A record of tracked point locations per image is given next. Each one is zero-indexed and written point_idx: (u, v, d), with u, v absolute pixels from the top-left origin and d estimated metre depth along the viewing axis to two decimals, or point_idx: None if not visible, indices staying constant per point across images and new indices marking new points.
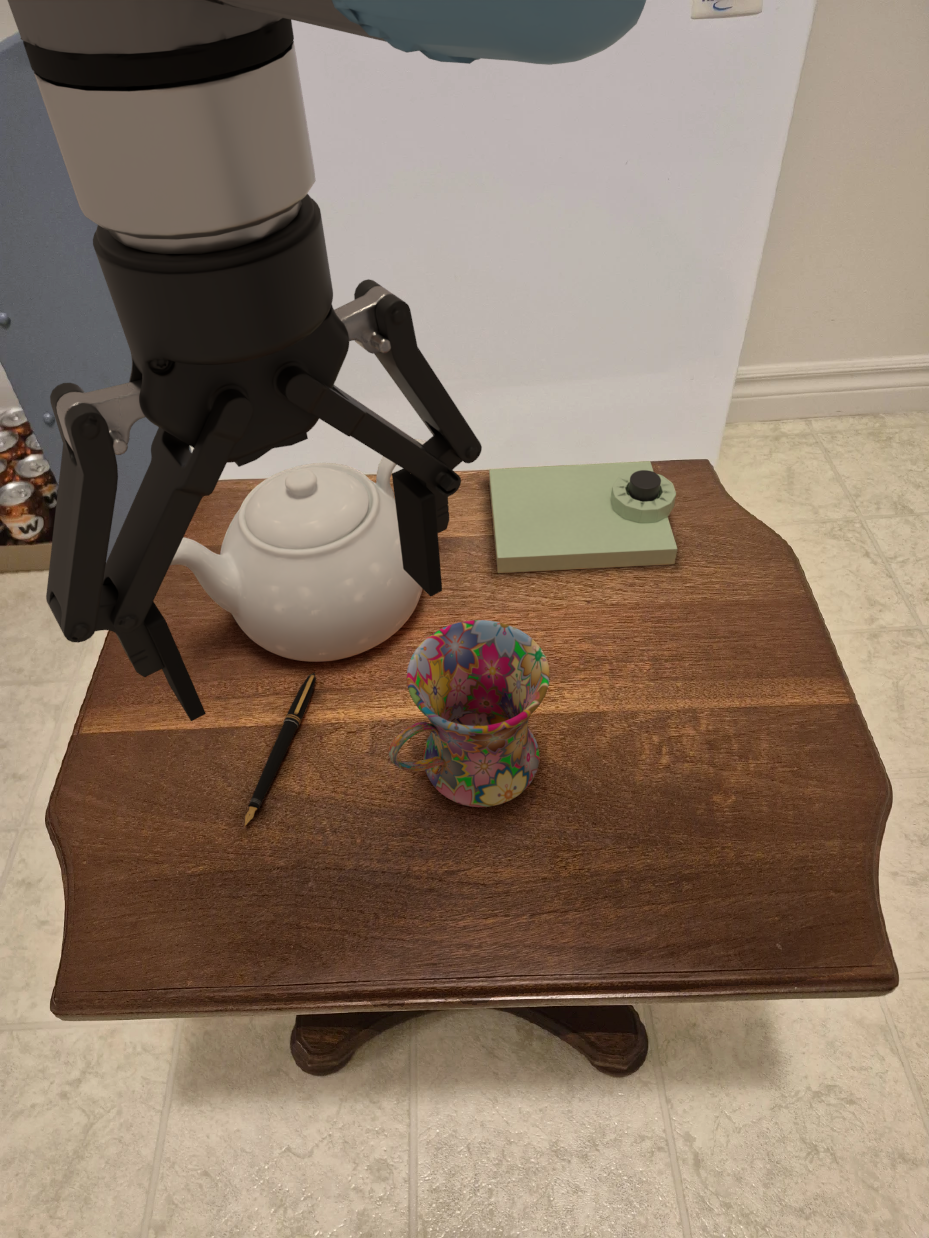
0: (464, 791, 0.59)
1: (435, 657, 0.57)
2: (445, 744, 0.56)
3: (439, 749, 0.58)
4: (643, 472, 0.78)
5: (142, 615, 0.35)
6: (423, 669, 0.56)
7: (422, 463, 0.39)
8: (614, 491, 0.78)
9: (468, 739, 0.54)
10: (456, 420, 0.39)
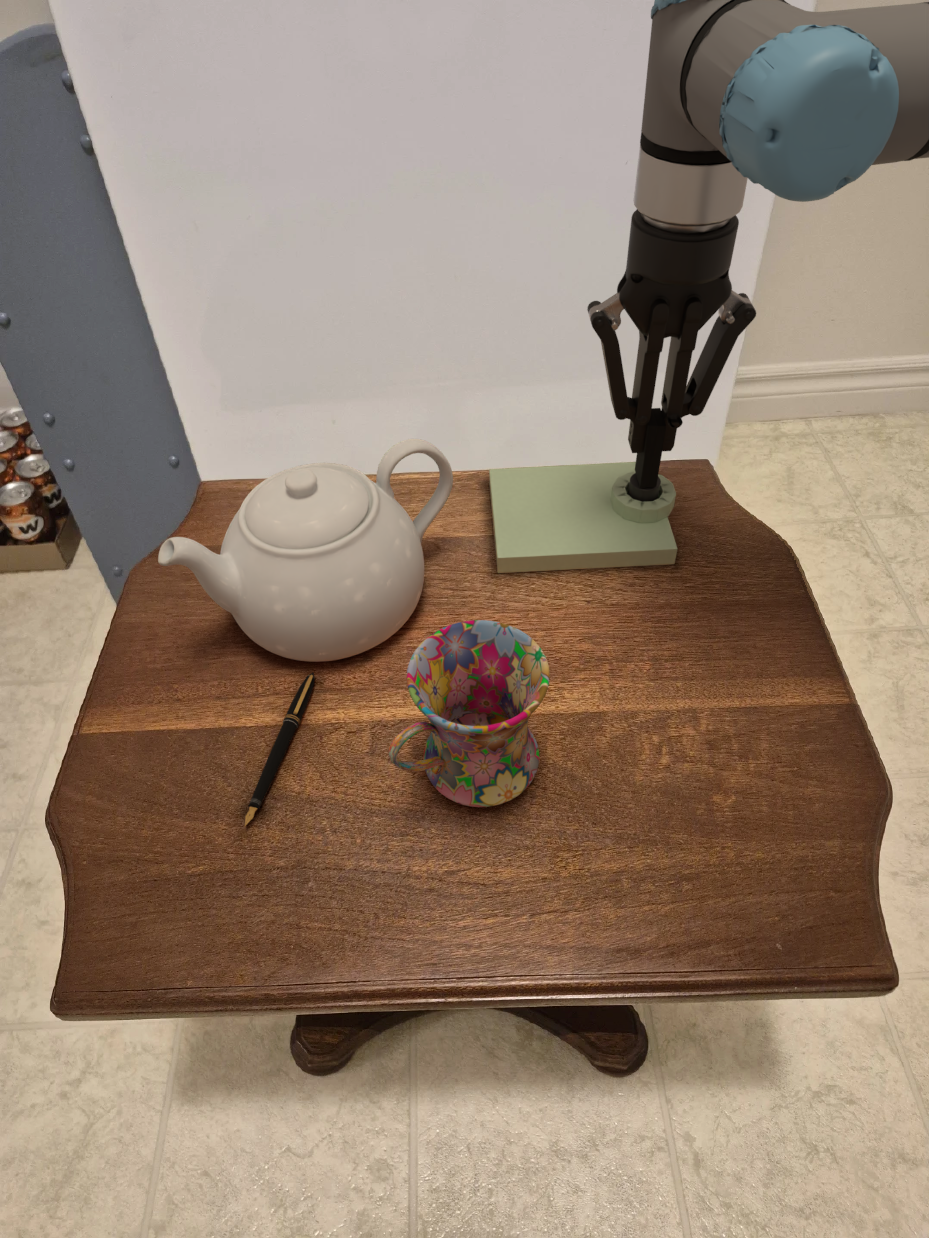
0: (464, 791, 0.59)
1: (435, 657, 0.57)
2: (445, 744, 0.56)
3: (439, 749, 0.58)
4: None
5: (648, 415, 0.71)
6: (423, 669, 0.56)
7: (677, 400, 0.70)
8: (614, 491, 0.78)
9: (468, 739, 0.54)
10: (709, 387, 0.69)
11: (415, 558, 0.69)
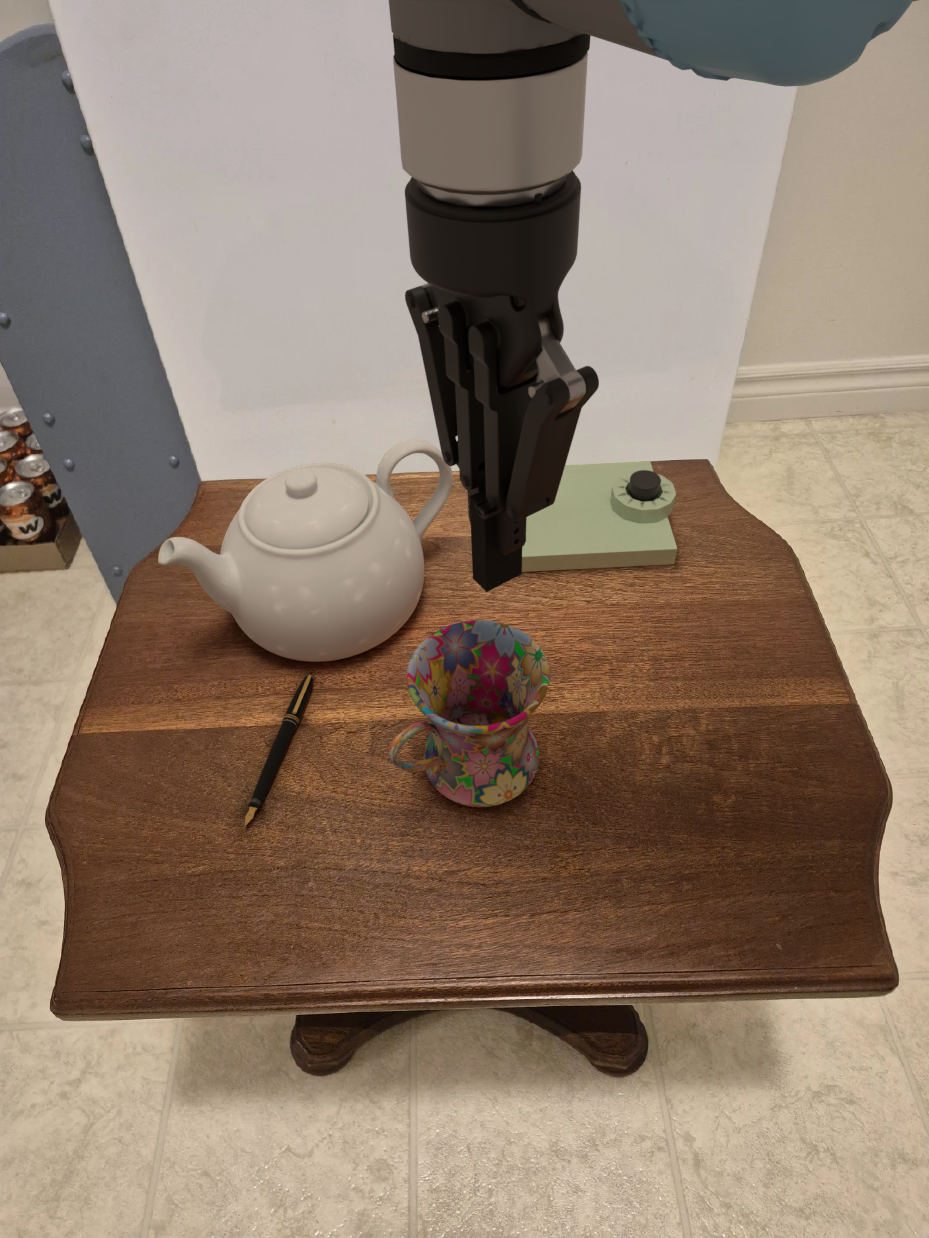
0: (464, 791, 0.59)
1: (435, 657, 0.57)
2: (445, 744, 0.56)
3: (439, 749, 0.58)
4: (643, 472, 0.78)
5: (469, 479, 0.47)
6: (423, 669, 0.56)
7: (492, 481, 0.45)
8: (614, 491, 0.78)
9: (468, 739, 0.54)
10: (521, 486, 0.43)
11: (415, 558, 0.69)
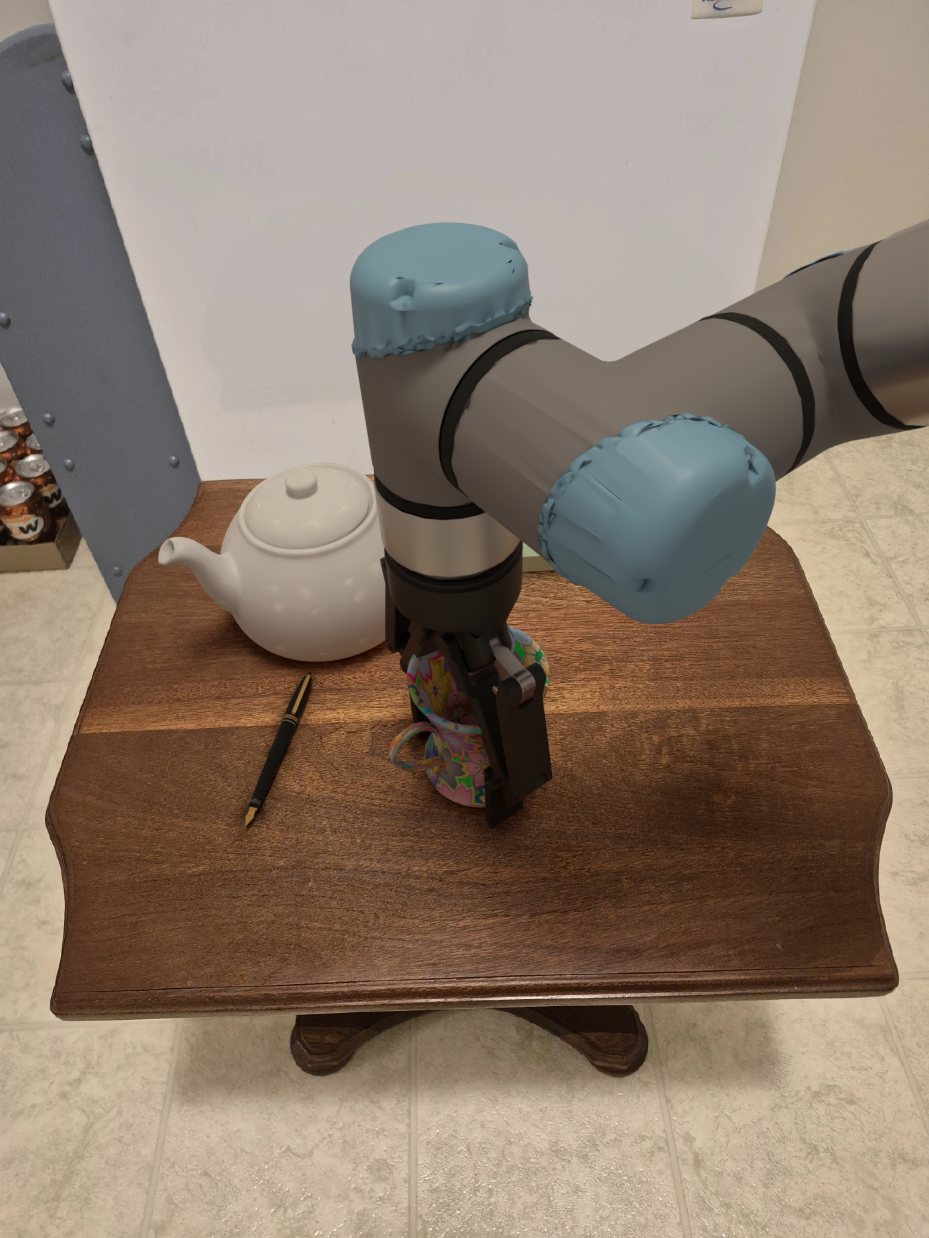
0: (464, 791, 0.59)
1: (435, 657, 0.57)
2: (445, 744, 0.56)
3: (439, 749, 0.58)
4: None
5: None
6: (423, 669, 0.56)
7: (491, 756, 0.52)
8: None
9: (468, 739, 0.54)
10: (514, 768, 0.50)
11: None
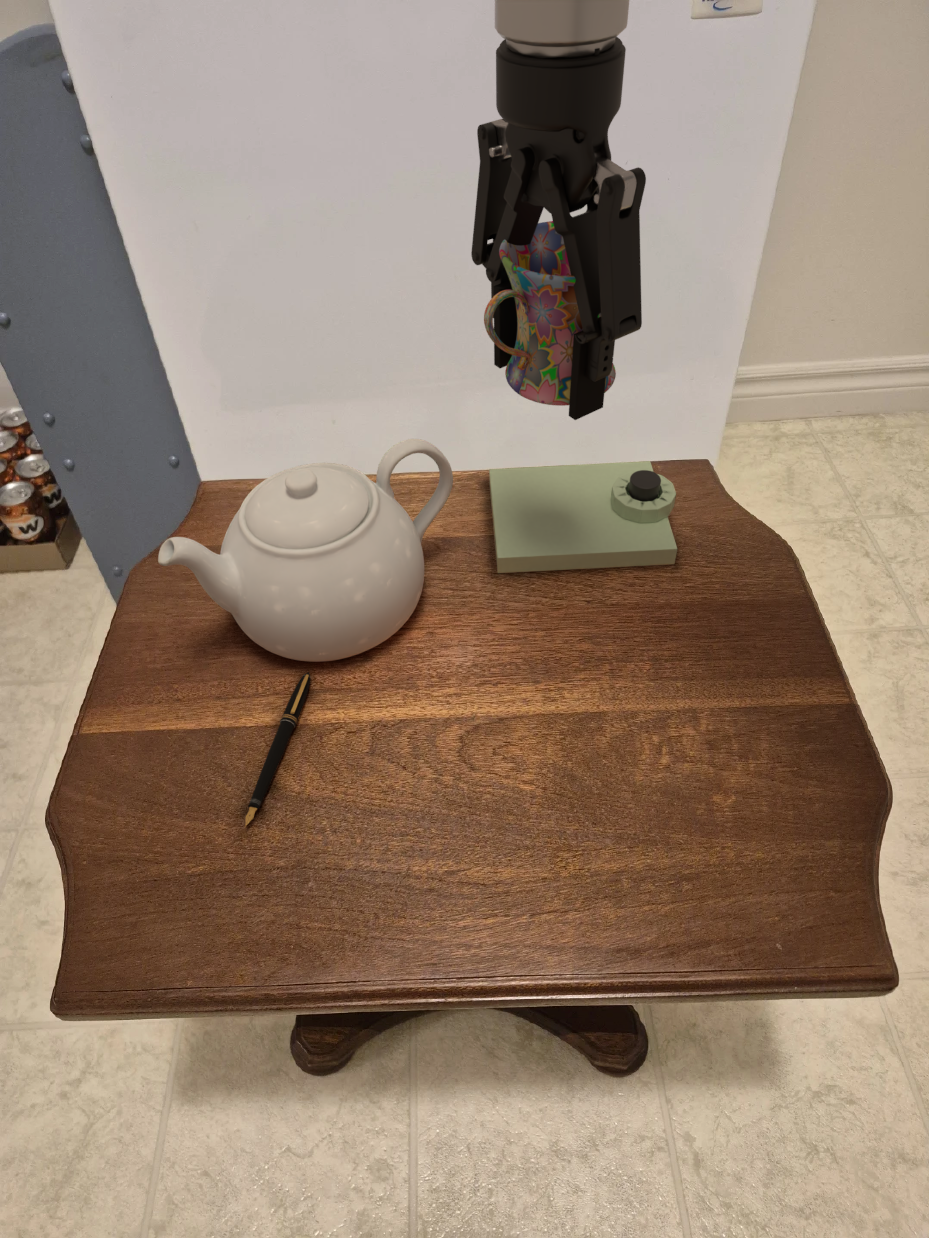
0: (548, 387, 0.62)
1: (522, 252, 0.61)
2: (533, 328, 0.60)
3: (525, 343, 0.61)
4: (643, 472, 0.78)
5: (494, 274, 0.62)
6: (513, 257, 0.60)
7: (584, 306, 0.56)
8: (614, 491, 0.78)
9: (559, 302, 0.57)
10: (609, 298, 0.53)
11: (415, 558, 0.69)
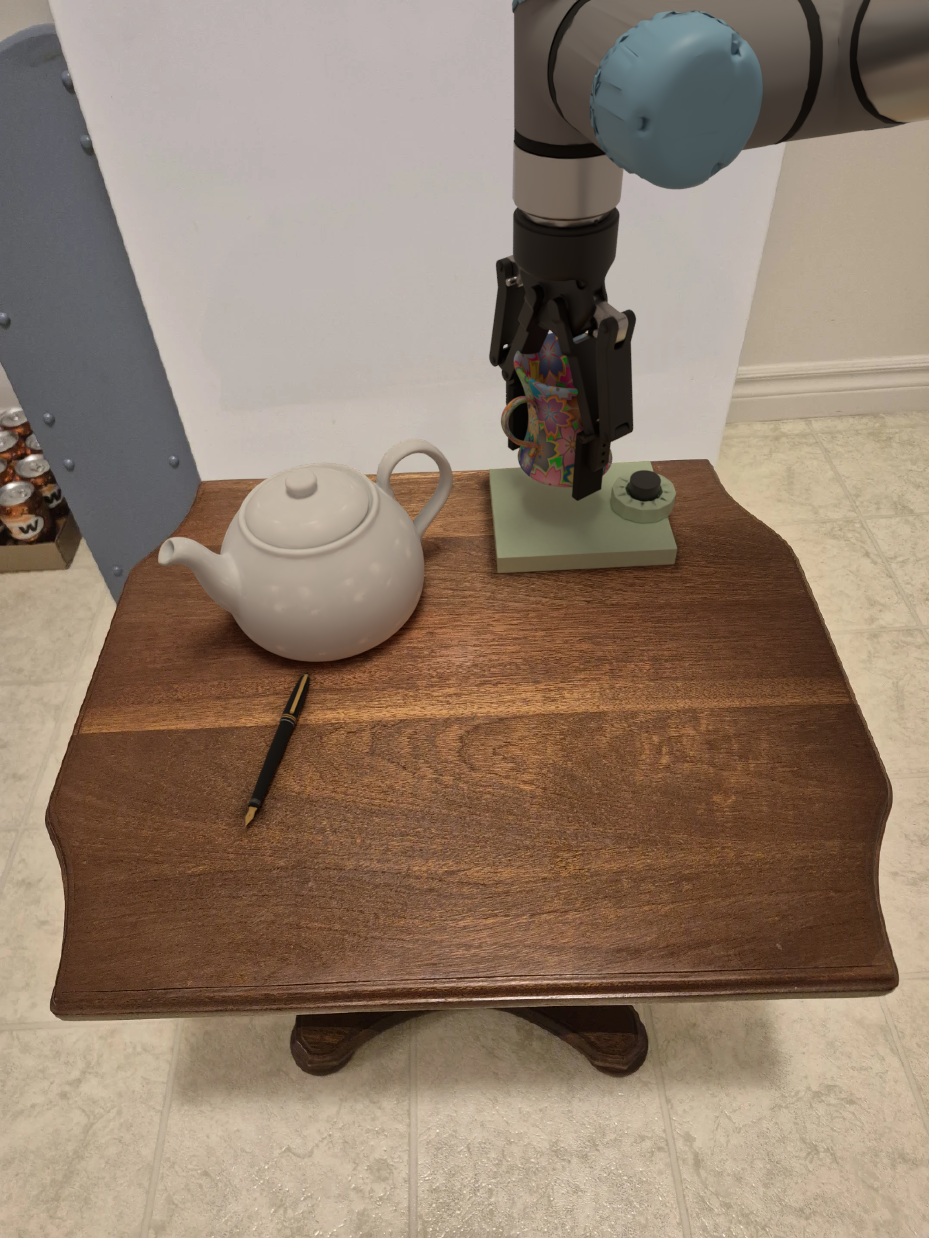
0: (554, 472, 0.73)
1: (533, 359, 0.72)
2: (542, 425, 0.71)
3: (535, 435, 0.72)
4: (643, 472, 0.78)
5: (509, 376, 0.73)
6: (525, 365, 0.71)
7: (585, 413, 0.66)
8: (614, 491, 0.78)
9: (564, 407, 0.68)
10: (605, 410, 0.64)
11: (415, 558, 0.69)
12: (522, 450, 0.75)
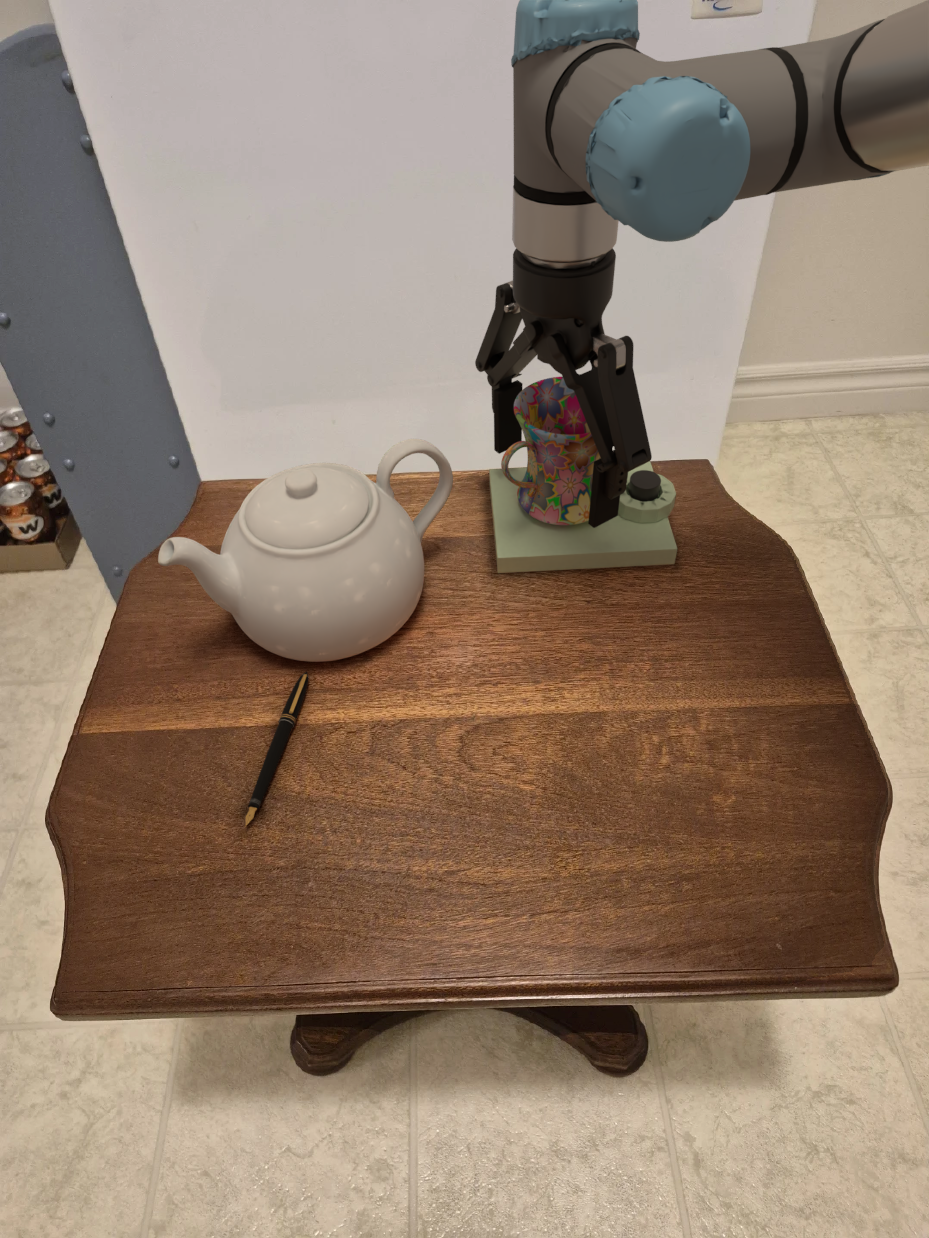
0: (553, 511, 0.76)
1: (532, 403, 0.75)
2: (541, 466, 0.74)
3: (534, 476, 0.75)
4: (643, 472, 0.78)
5: (494, 383, 0.75)
6: (524, 409, 0.74)
7: (599, 442, 0.66)
8: None
9: (562, 452, 0.71)
10: (619, 438, 0.64)
11: (415, 558, 0.69)
12: (522, 488, 0.78)
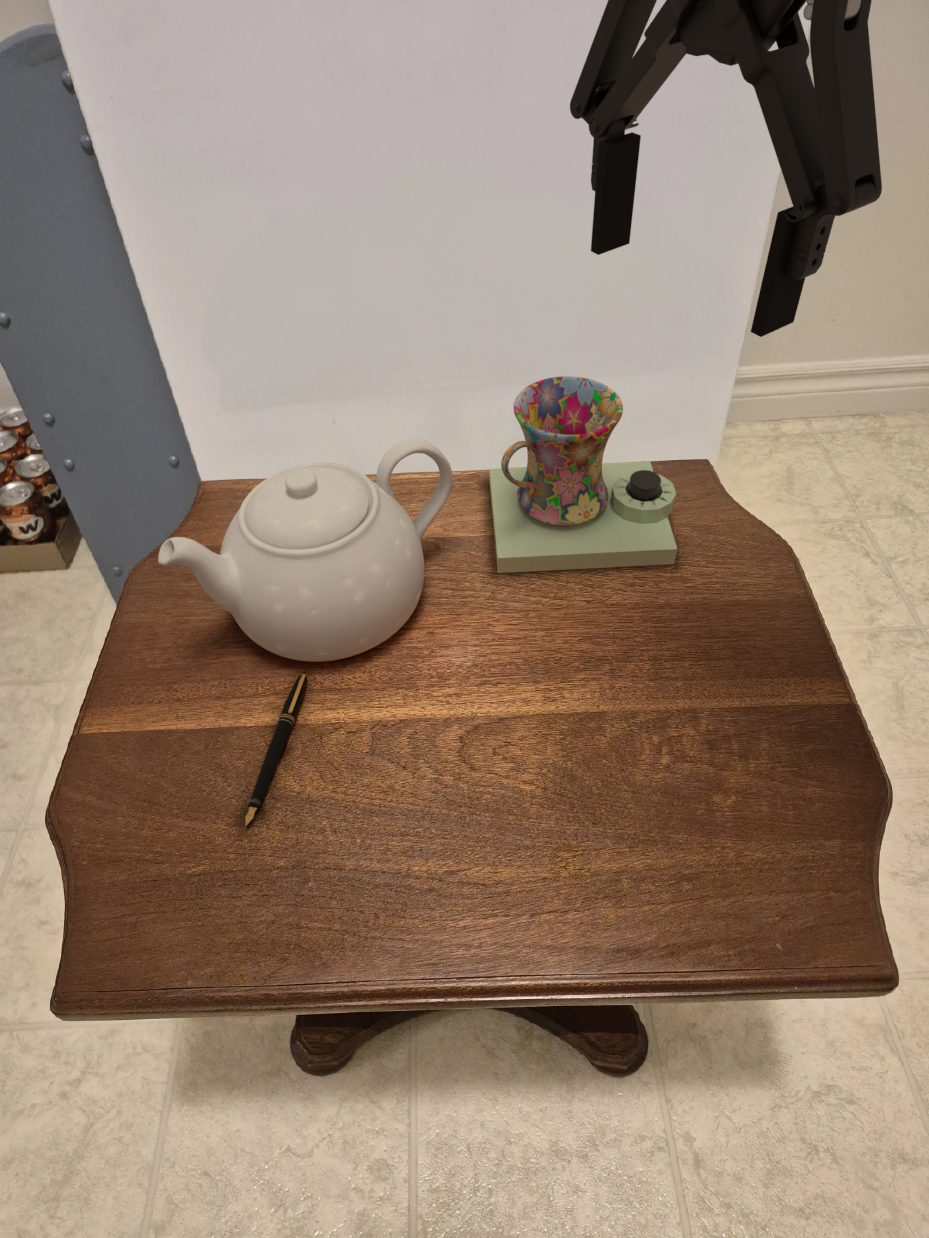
0: (553, 511, 0.76)
1: (532, 403, 0.75)
2: (541, 466, 0.74)
3: (534, 476, 0.75)
4: (643, 472, 0.78)
5: (601, 129, 0.50)
6: (524, 409, 0.74)
7: (794, 172, 0.41)
8: (614, 491, 0.78)
9: (562, 452, 0.71)
10: (837, 149, 0.39)
11: (415, 558, 0.69)
12: (522, 488, 0.78)
